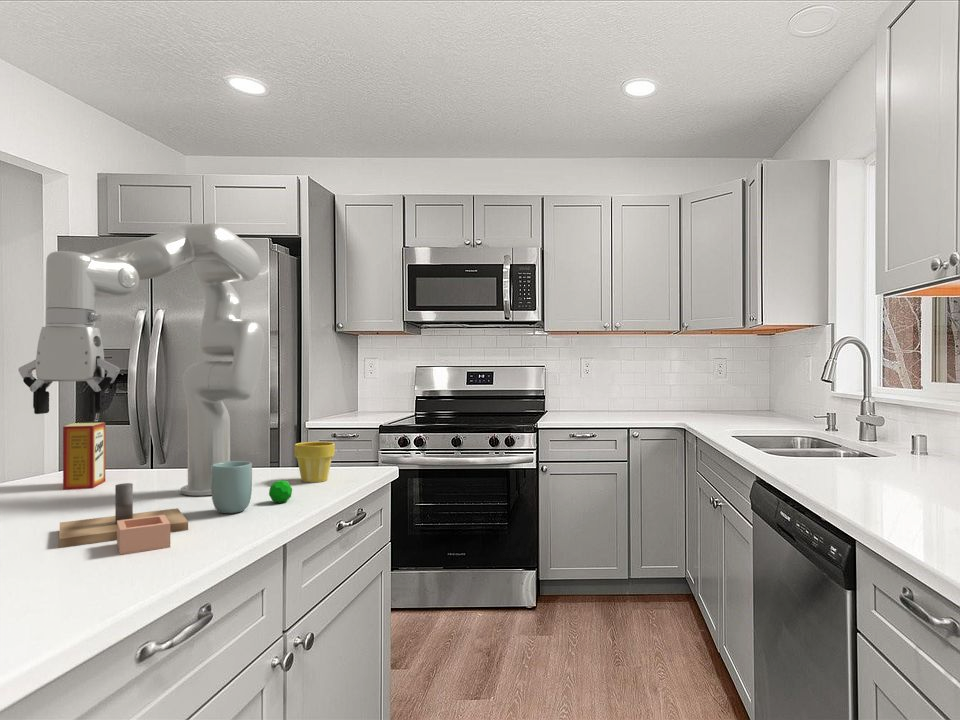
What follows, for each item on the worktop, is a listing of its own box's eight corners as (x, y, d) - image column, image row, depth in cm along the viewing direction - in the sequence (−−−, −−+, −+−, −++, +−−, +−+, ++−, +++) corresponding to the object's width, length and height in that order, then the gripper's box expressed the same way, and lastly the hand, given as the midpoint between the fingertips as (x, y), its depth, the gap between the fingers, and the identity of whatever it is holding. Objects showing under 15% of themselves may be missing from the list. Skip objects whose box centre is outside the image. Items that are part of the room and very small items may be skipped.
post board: (177, 515, 127) (177, 474, 127) (188, 529, 116) (188, 484, 116) (59, 530, 116) (59, 485, 116) (59, 547, 105) (59, 497, 105)
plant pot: (324, 475, 172) (324, 440, 172) (341, 480, 164) (341, 443, 164) (288, 479, 165) (288, 443, 165) (304, 485, 157) (304, 447, 157)
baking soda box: (77, 482, 162) (77, 421, 163) (105, 481, 164) (105, 420, 164) (63, 489, 153) (63, 425, 153) (92, 488, 155) (92, 424, 155)
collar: (164, 536, 111) (164, 514, 111) (170, 547, 105) (170, 523, 105) (117, 543, 107) (116, 520, 107) (120, 554, 101) (120, 530, 101)
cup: (259, 508, 133) (259, 462, 133) (234, 517, 125) (233, 467, 125) (230, 506, 135) (229, 460, 135) (203, 514, 128) (203, 465, 128)
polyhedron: (273, 505, 135) (273, 484, 135) (265, 502, 139) (265, 480, 139) (295, 502, 139) (295, 481, 139) (287, 498, 142) (287, 478, 142)
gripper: (129, 322, 118) (128, 411, 118) (34, 321, 117) (33, 412, 116) (108, 318, 110) (107, 414, 110) (6, 318, 109) (5, 415, 109)
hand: (69, 413), depth 113 cm, fingers open, 9 cm apart
